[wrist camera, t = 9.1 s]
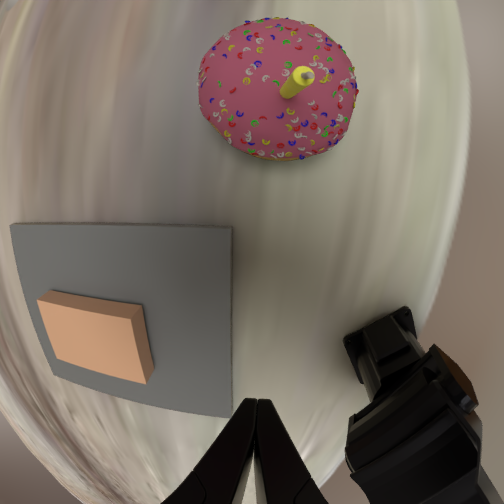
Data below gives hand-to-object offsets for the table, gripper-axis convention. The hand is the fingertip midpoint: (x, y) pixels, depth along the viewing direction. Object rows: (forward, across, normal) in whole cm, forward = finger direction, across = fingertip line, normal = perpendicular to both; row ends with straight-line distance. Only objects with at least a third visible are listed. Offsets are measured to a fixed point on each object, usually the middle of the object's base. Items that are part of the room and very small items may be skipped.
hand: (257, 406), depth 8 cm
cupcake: (+13, 0, -12) cm, 18 cm away
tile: (+11, +10, +7) cm, 16 cm away
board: (+13, +14, +7) cm, 21 cm away
